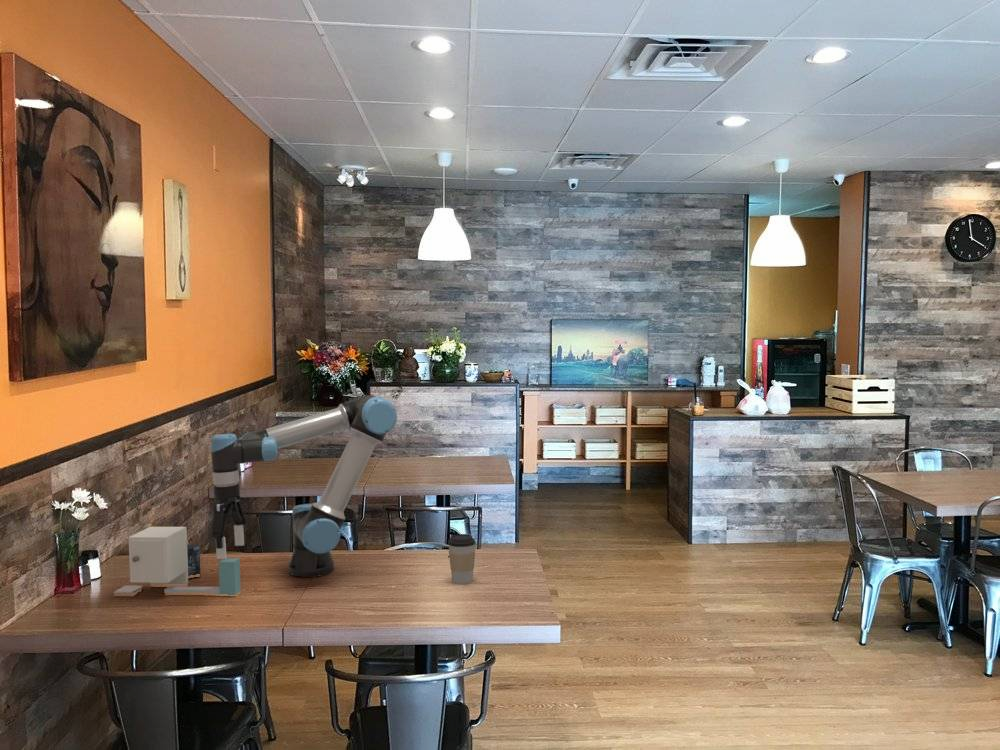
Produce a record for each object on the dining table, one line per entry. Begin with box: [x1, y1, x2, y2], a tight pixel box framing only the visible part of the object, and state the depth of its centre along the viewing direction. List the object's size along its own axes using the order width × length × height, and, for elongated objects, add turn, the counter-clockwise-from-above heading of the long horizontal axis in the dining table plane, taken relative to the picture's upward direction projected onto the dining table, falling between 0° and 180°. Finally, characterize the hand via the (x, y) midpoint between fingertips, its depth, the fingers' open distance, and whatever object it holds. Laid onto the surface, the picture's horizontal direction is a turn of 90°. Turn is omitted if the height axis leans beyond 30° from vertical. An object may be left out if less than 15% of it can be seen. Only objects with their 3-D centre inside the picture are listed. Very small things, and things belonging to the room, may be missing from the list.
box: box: [187, 543, 201, 576], centre depth 261 cm, size 8×6×11 cm
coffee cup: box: [447, 533, 477, 585], centre depth 254 cm, size 9×9×15 cm
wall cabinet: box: [128, 526, 189, 585], centre depth 245 cm, size 12×14×20 cm
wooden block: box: [113, 585, 144, 594], centre depth 246 cm, size 6×6×2 cm
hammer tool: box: [163, 557, 242, 595], centre depth 244 cm, size 23×4×11 cm, turn 86°
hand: (230, 551), depth 243 cm, fingers open, 13 cm apart
